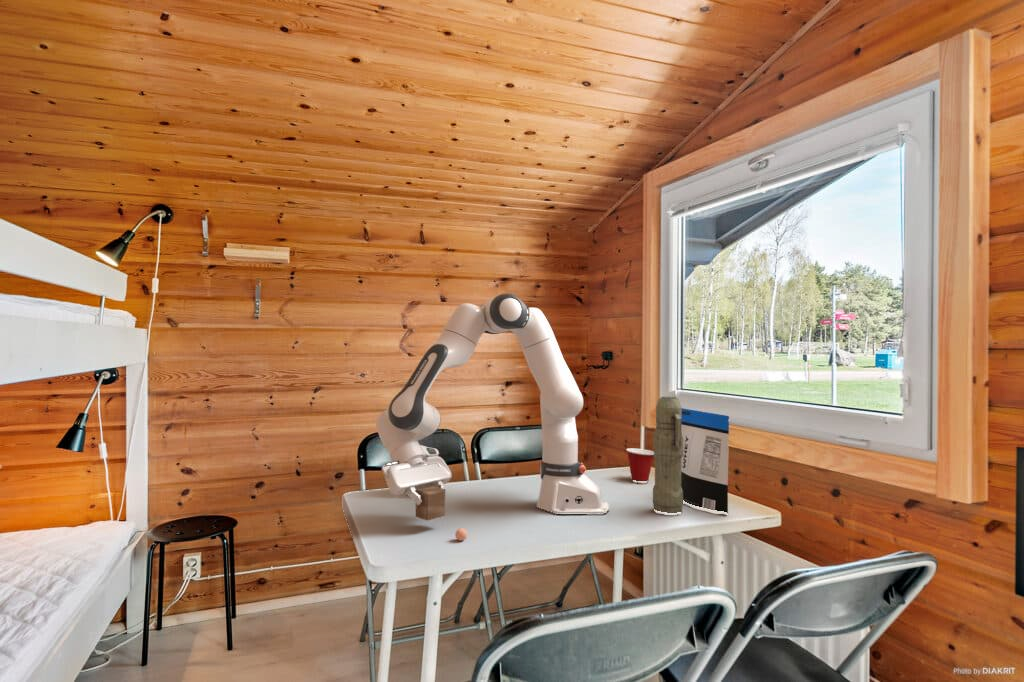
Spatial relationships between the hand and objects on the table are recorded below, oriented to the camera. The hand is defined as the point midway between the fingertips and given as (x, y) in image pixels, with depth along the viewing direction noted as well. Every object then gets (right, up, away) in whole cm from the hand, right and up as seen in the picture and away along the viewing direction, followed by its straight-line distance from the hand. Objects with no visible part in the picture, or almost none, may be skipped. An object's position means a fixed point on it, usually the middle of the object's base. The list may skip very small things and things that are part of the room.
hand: (432, 500), depth 160 cm
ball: (+9, -8, -9) cm, 15 cm away
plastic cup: (+70, -10, +60) cm, 92 cm away
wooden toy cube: (-1, -4, 0) cm, 4 cm away
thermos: (+69, -9, +21) cm, 73 cm away
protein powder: (+82, -10, +28) cm, 87 cm away
